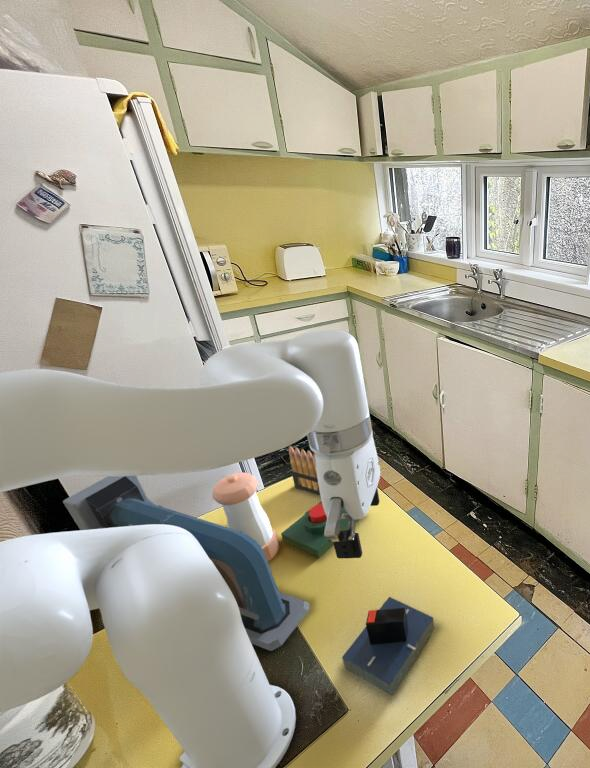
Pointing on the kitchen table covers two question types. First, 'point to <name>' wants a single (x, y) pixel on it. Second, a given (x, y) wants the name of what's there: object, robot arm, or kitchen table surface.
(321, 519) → the release button
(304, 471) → the ammunition clip
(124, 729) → the kitchen table surface
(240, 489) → the salt shaker
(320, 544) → the box
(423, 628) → the switch base
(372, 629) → the switch handle
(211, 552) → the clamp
